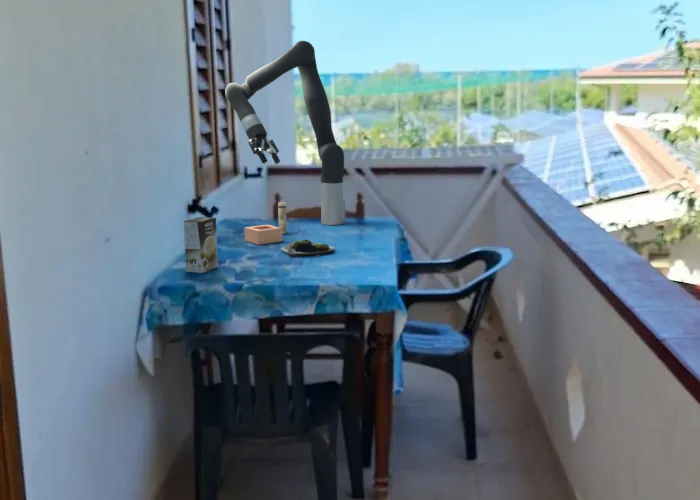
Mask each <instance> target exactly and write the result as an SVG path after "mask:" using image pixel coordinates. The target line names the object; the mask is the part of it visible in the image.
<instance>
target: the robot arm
mask: <svg viewBox="0 0 700 500" xmlns="http://www.w3.org/2000/svg"><path fill="white" fill-rule="evenodd" d="M315 51H316V50H315V48H314V46H313V45H312V43H310V42H309V41H306V40H300V41H297V42H296V43H294V44H293V46H292V47H291V48H289V49H288V50H287V51H286V52H285V53H284V54H282V55H281V56H279V57H278V58H277V59H275V60H273V61H272V62H269V63H268V64H265V65H264V66H261V67H260V68H258V69H257V70H255V71H253V72H252V73H250V74H248V76H246V77H245V82H244V83H242V84H239V83H237V82H230V83H228V84H227V85H226V87H225V90H224V91H225V96H226V99H227V100H228V102H229V103H230V105H231V107H233V110H234V111H235V114H236V115H237V117H238V119H239V121H240V123H241V125H242V129H243V131H244V133H245V134H246V136H247V138H248V140H249V141H247V143H248V145H249V147H250V149H251V151H252V154H253V155H256V156H258V158H259V160H260V161H261V163H262V164H263V165H265V164H266V163H267V162H268V159H267V157H266V155H265V153H267V154H269V155H270V156H271V158H272V160H273V162H274V164H275V165H278V164H279V163H280V162H281V160H280V157H279V155H278V153H279V152H280V151H279V149H278V147H277V145H276V143H275V141H274V140H273V139H272V138H271V139H270V140H269V139H268V138H267V136H268V132H267V130H266V127H265V126H264V125H263V122H262V121H261V119H260V117H259V116H258V114H257V112H256V110H255V109H254V106H253V105H252V104H251V103H250V101H249V99H251V98H252V97H253V96H254V95H255V94H256V93H257V92H258V91H260V90H262V89H263V88H265V87H267V86H268V85H270V84H271V83H273V82H274V81H276V80H277V79H279V78H280V77H281V76H282V75H284V74H286V73H287V72H290V71H291V70H294V69H296V68H297V70H298V73H299V75H300V80H301V86H302V88H301V89H302V95H303V100H304V105H305V108H306V110H307V114H308V117H309V121H310V123H311V127H312V129H313V132H314V135H315V139H316V144H317V150H318V151H317V152H318V157H319V160H320V161H321V174H320V205H321V206H320V208H321V211H320V212H321V214H320V215H321V217H320V218H321V221H320V223H321V225H326V226H327V225H328V226H329V225H330V226H338V225H342V224H346V200H344V176H345V175H344V174H345V153H344V150H343V148H342V147H341V146H340V145H338V144H337V141H336V139H335V136H334V132H333V129H332V128H333V127H332V115H331V107H330V104H329V103H330V102H329V100H328V99H329V98H328V96H327V92H326V90H325V88H324V85H323V82H322V80H321V78H320V77H321V76H320V74H319V71H318V65H317V61H316V52H315ZM264 152H265V153H264Z"/></svg>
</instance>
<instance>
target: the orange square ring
mask: <svg viewBox="0 0 700 500" xmlns="http://www.w3.org/2000/svg"><path fill="white" fill-rule="evenodd" d="M244 241H245V242H247V243H251V244H255V245H258V246H259V245H266V244H272V243H278V242H282V241H283V234H282V228H279V226H275V225H271V224H262V225H253V226H246V227H244Z"/></svg>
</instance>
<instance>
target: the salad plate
mask: <svg viewBox="0 0 700 500" xmlns="http://www.w3.org/2000/svg"><path fill="white" fill-rule="evenodd" d="M281 251H282V252H283V253H285V254H288V255H289V254H290V255H289V256H292V257H296V256H311V257H318V256H317V255H320V256H326V254H327V255H330V254H332V253H333V252H334V251H335V247H334V246H330V245H328V244H326V243H321V242H312V241H311V240H309V239H306V238H304V239H302V240H299V239H297V240H295V241H294V242H289V243H288V245H285V246H281Z"/></svg>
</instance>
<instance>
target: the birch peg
mask: <svg viewBox="0 0 700 500" xmlns="http://www.w3.org/2000/svg"><path fill="white" fill-rule="evenodd" d="M277 203H278V204H277V212H278V213H277V214H278V217H277V218H278V227H279V228H282V235H284V234H285V235H286V234H287V233H288V231H287V203H286V202H285V201H284V202H277Z"/></svg>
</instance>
